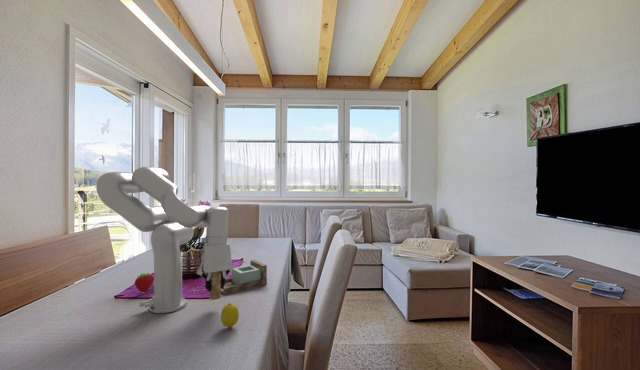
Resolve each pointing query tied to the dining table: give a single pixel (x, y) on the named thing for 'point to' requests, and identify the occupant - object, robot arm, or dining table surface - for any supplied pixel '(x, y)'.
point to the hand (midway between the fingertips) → (215, 288)
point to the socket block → (245, 274)
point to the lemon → (229, 315)
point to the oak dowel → (215, 286)
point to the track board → (232, 287)
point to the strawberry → (144, 282)
